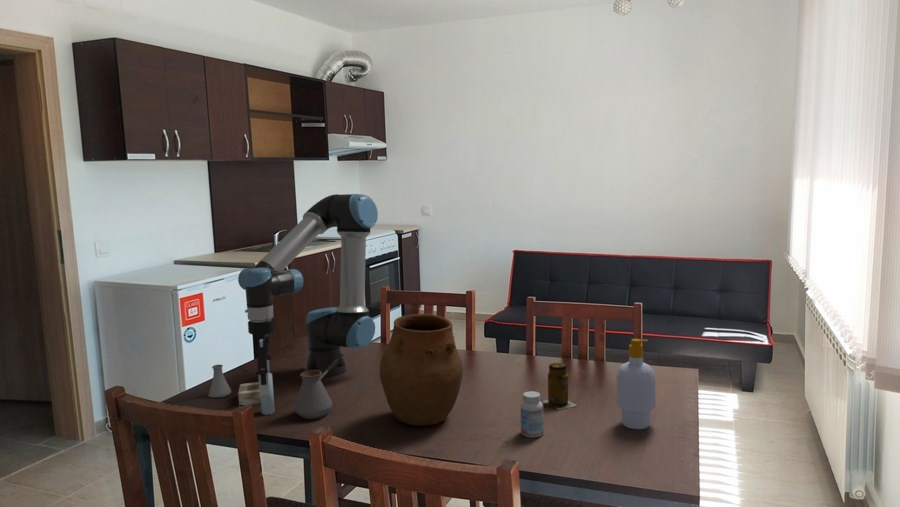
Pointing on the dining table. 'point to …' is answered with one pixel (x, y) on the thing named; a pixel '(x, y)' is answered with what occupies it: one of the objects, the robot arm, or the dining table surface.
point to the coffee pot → (314, 394)
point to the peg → (268, 399)
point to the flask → (219, 383)
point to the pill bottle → (532, 415)
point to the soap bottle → (636, 388)
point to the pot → (421, 369)
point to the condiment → (558, 387)
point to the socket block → (249, 394)
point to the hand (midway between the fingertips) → (265, 387)
